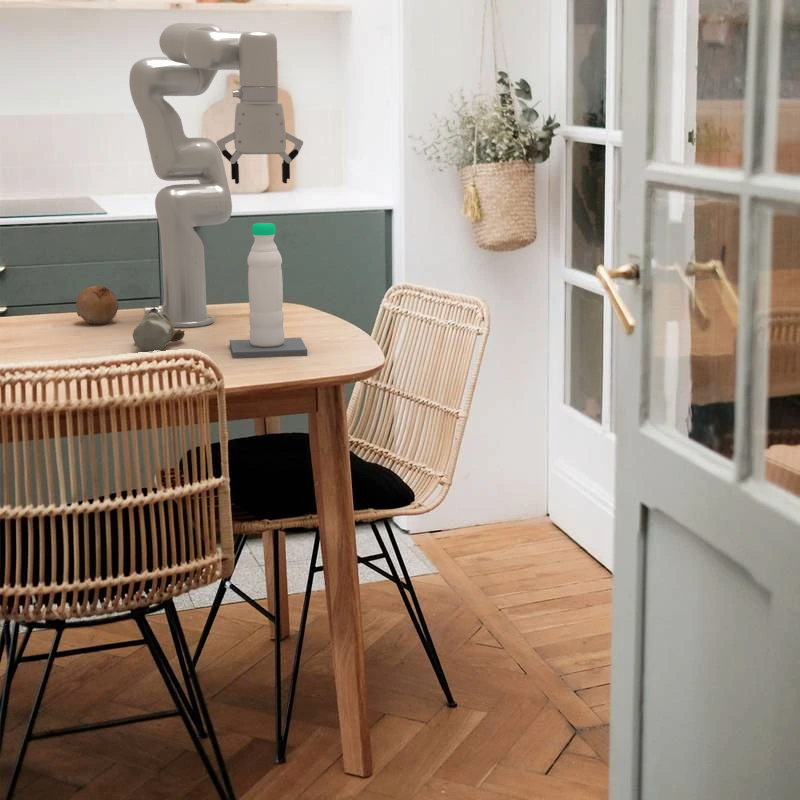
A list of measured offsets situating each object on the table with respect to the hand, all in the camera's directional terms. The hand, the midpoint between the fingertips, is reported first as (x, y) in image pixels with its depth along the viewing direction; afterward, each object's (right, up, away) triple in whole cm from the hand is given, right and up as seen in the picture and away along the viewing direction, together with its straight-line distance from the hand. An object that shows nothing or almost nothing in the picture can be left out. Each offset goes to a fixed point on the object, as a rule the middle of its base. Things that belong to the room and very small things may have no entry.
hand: (260, 183), depth 260 cm
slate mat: (+1, -34, +6) cm, 34 cm away
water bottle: (+1, -33, +6) cm, 33 cm away
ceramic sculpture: (-23, -33, +10) cm, 42 cm away
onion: (-42, -26, +37) cm, 61 cm away
